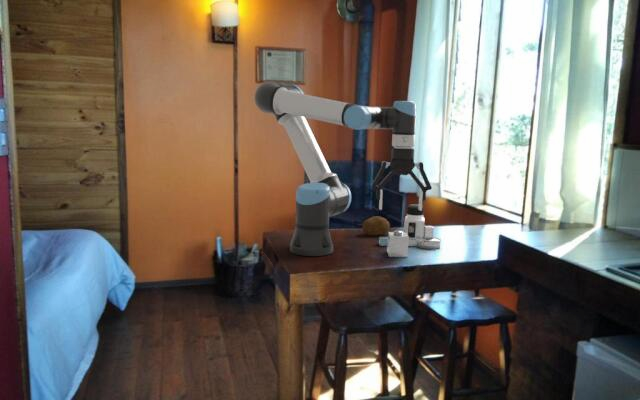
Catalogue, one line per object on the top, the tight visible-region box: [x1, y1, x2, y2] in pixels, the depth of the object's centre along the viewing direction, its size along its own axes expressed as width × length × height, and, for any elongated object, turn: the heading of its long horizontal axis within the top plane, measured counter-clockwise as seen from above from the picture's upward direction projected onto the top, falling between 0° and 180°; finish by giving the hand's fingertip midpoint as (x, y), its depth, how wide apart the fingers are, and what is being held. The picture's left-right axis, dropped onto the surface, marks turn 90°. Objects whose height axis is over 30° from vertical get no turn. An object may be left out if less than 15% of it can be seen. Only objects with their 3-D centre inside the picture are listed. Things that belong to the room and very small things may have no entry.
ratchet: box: [378, 225, 441, 250], centre depth 193 cm, size 22×9×8 cm, turn 89°
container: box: [403, 204, 426, 239], centre depth 206 cm, size 8×8×13 cm
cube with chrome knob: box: [386, 229, 409, 258], centre depth 180 cm, size 6×6×8 cm
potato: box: [362, 215, 391, 236], centre depth 208 cm, size 8×12×8 cm, turn 122°
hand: (400, 209), depth 178 cm, fingers open, 13 cm apart
